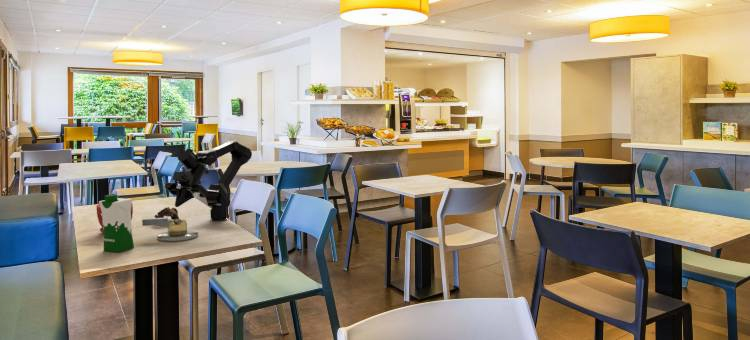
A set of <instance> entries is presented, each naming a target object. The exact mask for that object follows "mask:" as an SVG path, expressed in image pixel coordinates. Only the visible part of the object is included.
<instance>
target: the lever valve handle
mask: <svg viewBox="0 0 750 340" xmlns="http://www.w3.org/2000/svg"><path fill="white" fill-rule="evenodd" d="M141 222H142V224H141V225H142V227H148V226H163V228H167V232H168V235H173V236H176V235H184V234H187V230H188V222H187V219H181V222H179V223H178V224H175V223H174V222H173V220H172V219H171V218H170V219H169V218H168V217H164V218H155V217H151V218H142V220H141Z"/></svg>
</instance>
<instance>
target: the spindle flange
mask: <svg viewBox="0 0 750 340" xmlns="http://www.w3.org/2000/svg"><path fill="white" fill-rule="evenodd" d="M181 220H182V219H180V218H179V219H176V220H173V222H174V223H175V224H178V223H179V222H181ZM198 237H199V232H198V231H196V230H191V229H187V234H184V235H176V236H173V235H168V231H165V232H161V233H158V235H157V237H156V238H157V241H159V242H164V243H178V242H186V241H191V240H194V239H197V238H198Z"/></svg>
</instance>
